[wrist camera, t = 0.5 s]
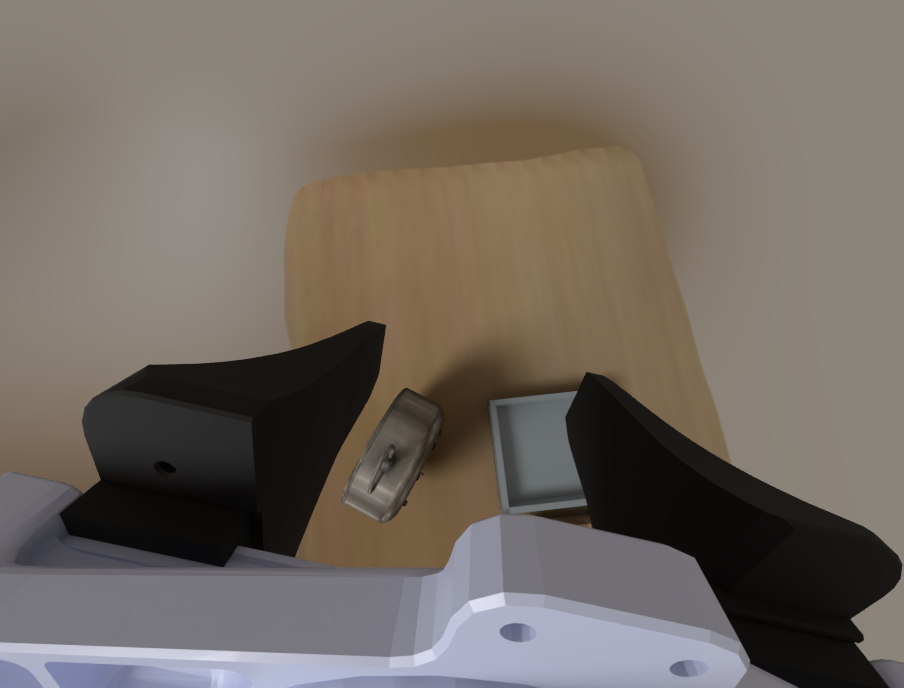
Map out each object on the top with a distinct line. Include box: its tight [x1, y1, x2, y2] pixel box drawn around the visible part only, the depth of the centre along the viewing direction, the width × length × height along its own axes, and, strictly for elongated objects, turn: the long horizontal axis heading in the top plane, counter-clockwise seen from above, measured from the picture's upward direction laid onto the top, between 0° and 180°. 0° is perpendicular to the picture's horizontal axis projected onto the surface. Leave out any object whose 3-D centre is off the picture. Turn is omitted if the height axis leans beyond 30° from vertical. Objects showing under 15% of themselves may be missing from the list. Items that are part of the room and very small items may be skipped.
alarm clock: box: [342, 388, 444, 523], centre depth 29 cm, size 11×5×16 cm, turn 152°
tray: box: [487, 391, 587, 514], centre depth 36 cm, size 11×12×2 cm
